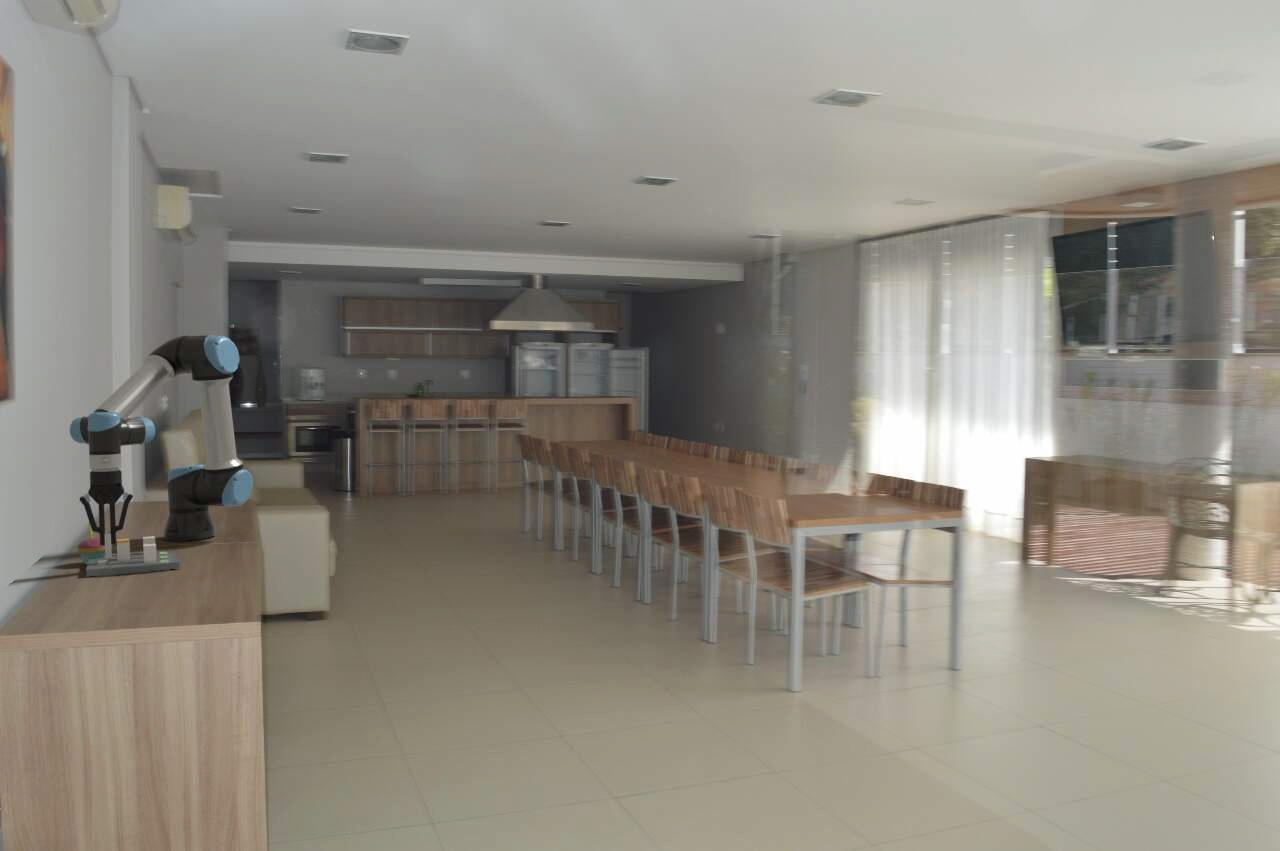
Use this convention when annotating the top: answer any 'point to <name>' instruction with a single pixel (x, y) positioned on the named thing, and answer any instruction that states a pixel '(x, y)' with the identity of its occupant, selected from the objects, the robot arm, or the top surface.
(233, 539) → the top surface
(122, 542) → the breaker handle
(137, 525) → the top surface
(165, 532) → the robot arm
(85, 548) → the cupcake
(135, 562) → the panel
